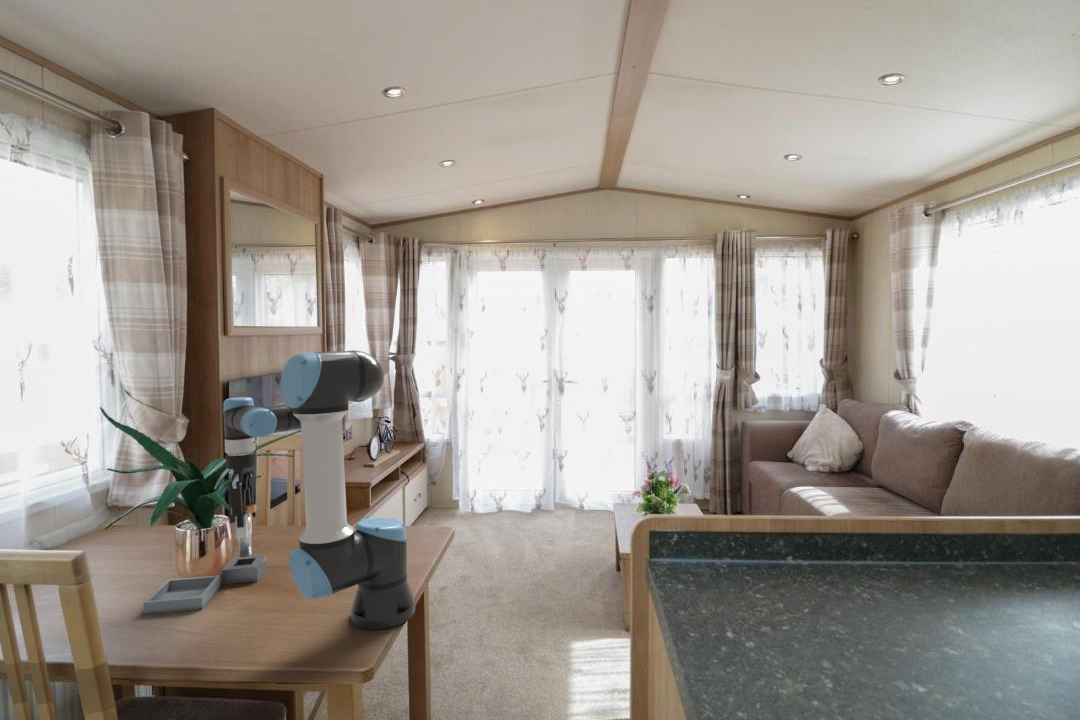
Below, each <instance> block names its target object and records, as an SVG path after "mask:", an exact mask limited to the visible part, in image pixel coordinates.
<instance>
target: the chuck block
mask: <svg viewBox="0 0 1080 720" xmlns="http://www.w3.org/2000/svg"><path fill="white" fill-rule="evenodd" d="M267 558H268V557H267V554H255V555H253V554H252V555H250V556H247V557H240V556H239V555H238V556H233V557H232V558H230V560H229V561H227V563H226V564H225V566H224V567H223V568H222V569H221V585H231V584H242V583H252V582H259V581H260V579H261V577H262V576H263V575H264V573H265V572H266V570H267V568H268V564H267V562H268V560H267Z"/></svg>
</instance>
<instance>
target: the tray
mask: <svg viewBox="0 0 1080 720" xmlns="http://www.w3.org/2000/svg"><path fill="white" fill-rule="evenodd" d="M221 587H222V574H219V575H218V574H217V575H207V576H205V575H204V576H196V577H184V578H172V579H167V580H166V581H165V582H163V583H162V584H161V585H160V586H159V587H158V588H157V589H156V590H155V591H154V592H153V593H152V594H151V595H150V596H149V597H148V598H147V599H146V600H145V601H143V615H156V614H166V613H167V614H169V613H176V612H187V611H198V610H199V611H200V610H203V609H204V608H205V607H206V605H207V604H208V603H209V601H210V600H211V599H212V598H213V596H214V595H215V594H216V593H217V592H218V591H219V589H220V588H221Z"/></svg>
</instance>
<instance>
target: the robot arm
mask: <svg viewBox="0 0 1080 720" xmlns="http://www.w3.org/2000/svg"><path fill="white" fill-rule="evenodd" d="M384 375H385V374H384V369H383V367H382V365H381V363H380V362H379V360H377V358H376V357H374V356H373V355H371V354H370V353H368V352H366V351H361V350H335V351H310V352H300V353H297V354H294V355H292V356H291V357H290V358H289V359H288V360H287V361H286V363H285V365H284V367H283V370H282V372H281V377H280V384H279V385H280V395H281V397H282V401H283V404H278V405H277V404H276V405H269V406H268V405H265V406H257V407H256V406H255V403H254V399H253V398H252V397H250V396H249V397H248V396H247V397H246V396H245V397H243V396H240V397H230V398H227V399H225V400H224V401H223V408H222V409H223V410H222V414H223V429H224V430H223V431H224V453H226V454H225V468H226V469H228V470H232V476H231V481H228V482H229V483H228V486H229V489H230V502H231V508H232V514H231V513H230V515H231V517H234V519H235V536H236V537H235V539H236V540H238V539H240V538H247V537H248V532H247V514H245V506H246V505H254V470H251V468H252V467H255V466H256V464H257V453H256V452H255V451H256V444H258V440H256V438H265V437H268V436H270V435H271V434H276V433H277V434H278V433H284V432H291V431H297V430H299V431H300V430H301V447H302V448H301V449H302V466H303V467H302V469H303V471H302V472H303V486H304V487H303V489H304V508H305V509H304V510H305V511H304V512H305V529H304V531H303V532H302V533H300V535H299V536H298V539H299V540H298V541H299V544H298V545H299V547H296V548H295V549H294V550H292V551H291V552H290V553H289V554H290V555H289V559H288V563H289V564H288V565H289V571H290V574H291V577H292V578H291V579H292V581H293V583H294V585H295V586H296V588H297V590H298V592H299V593H301V595H302V596H303V597H304V598H306V599H308V600H310V601H313V600H314V601H315V600H319V599H322V598H325V597H331V596H332V595H334V594H337V593H339V592H341V591H344V590H346V589H350V588H352V587H354V586H356V585H357V587H356V591H355V594H354V597H353V600H352V603H351V604H352V605H351V607H350V621H351V623H352V624H353V625H354V626H355V627H357V628H360V629H364V630H370V631H377V630H385V629H391V628H395V627H397V626H400V625H402V624H405V623H406V622H407V621H409V620H410V619H411V618H412V617H413V616H414V614H415V611H416V601H415V597H414V595H413V592H412V590H411V589H412V588H411V587H410V583H409V581H408V560H407V559H408V557H407V556H408V555H407V541H408V537H407V528H406V525H405V524H404V523H403V522H402V521H400V520H398V519H394V518H391V517H369V518H364V519H360V520H359V521H357V522H356V526H355V528H354V526H352V525H350V523H348V517H347V516H348V515H347V497H346V495H347V494H346V492H347V491H346V475H345V473H346V472H345V452H344V431H343V418H344V416H345V415H346V414H348V412H349V411H350V410H349V406H350V405H351V404H352V403H361V402H364V401H367V400H368V399H370V398H372V397H373V396H376V395H377V394H378V393H379V391H380V390H381V389H382V387H383V384H384V380H385V378H384V377H385V376H384ZM247 453H248V454H247ZM250 519H251V520H252V513H250ZM252 522H253V521H251V534H252V533H253V529H252V528H253V527H252Z"/></svg>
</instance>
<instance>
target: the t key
mask: <svg viewBox="0 0 1080 720" xmlns="http://www.w3.org/2000/svg"><path fill="white" fill-rule="evenodd" d="M256 511H257V505H256V504H253V505H246V506H245V514H247V532H248V537H247V538H240V539H237V541H238V557H239V556H240V557H247V556H252V555H253V548H252V544H253V543H252V533H251V522H252V518H251V519H250V513H251V514H254V513H256ZM231 514H232V507H231V508H230V515H231Z"/></svg>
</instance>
